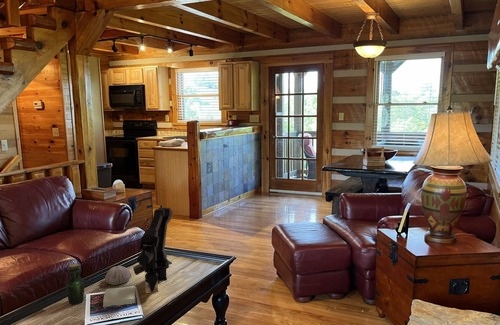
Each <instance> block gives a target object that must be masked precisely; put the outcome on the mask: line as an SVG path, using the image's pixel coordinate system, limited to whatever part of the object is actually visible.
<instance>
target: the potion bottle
mask: <svg viewBox="0 0 500 325" xmlns="http://www.w3.org/2000/svg"><path fill="white" fill-rule="evenodd" d="M69 268H70V269H69V270H68V271H67V274H68V275H70V279H68V280H67V281H66V283H65V288H66V292H67V294H66V295H67V301H68V304H70V305H78V304H81V303H83V302H84V300H85V279H84V278H82V277H80V276H79V275H80V273H82V269H81V268H80V267H79V263H71V264H70V265H69Z"/></svg>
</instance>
